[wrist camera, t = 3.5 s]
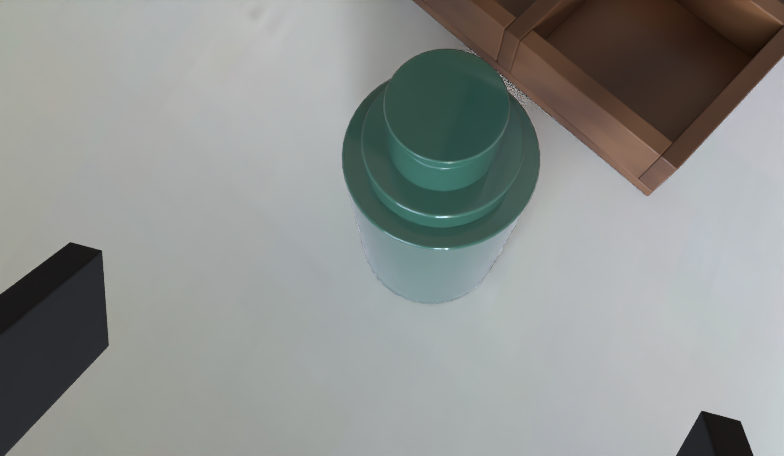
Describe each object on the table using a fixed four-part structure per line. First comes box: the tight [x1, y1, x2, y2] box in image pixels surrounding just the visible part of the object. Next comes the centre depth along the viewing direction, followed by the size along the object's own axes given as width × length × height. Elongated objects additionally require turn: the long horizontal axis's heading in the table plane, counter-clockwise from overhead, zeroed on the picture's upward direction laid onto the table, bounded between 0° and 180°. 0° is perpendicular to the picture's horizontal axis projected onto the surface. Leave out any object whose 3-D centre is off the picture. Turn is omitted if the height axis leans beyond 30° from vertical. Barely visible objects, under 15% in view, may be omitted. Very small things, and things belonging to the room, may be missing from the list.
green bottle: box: [342, 49, 540, 304], centre depth 21 cm, size 6×6×12 cm
